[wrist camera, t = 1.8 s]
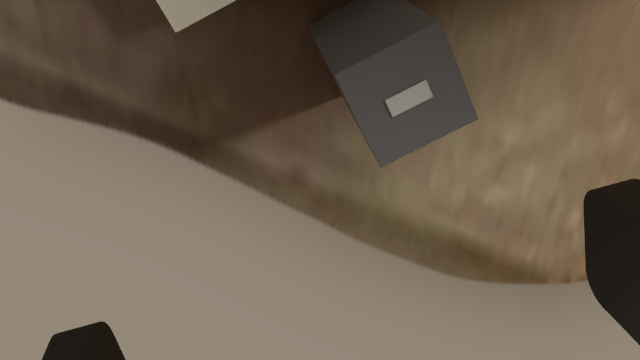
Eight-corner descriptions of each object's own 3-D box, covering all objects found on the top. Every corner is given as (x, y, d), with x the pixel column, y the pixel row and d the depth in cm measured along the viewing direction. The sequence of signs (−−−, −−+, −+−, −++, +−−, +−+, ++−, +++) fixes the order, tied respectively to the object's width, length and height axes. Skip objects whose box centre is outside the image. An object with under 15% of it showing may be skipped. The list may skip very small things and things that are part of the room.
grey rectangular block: (382, -15, 28) (440, 21, 20) (413, 59, 30) (478, 119, 22) (306, 25, 29) (334, 75, 21) (342, 96, 30) (380, 168, 22)
